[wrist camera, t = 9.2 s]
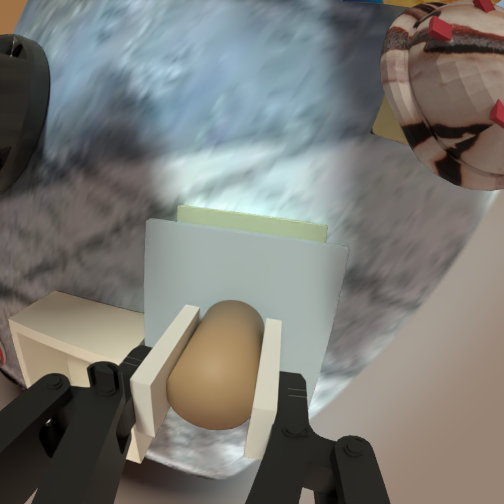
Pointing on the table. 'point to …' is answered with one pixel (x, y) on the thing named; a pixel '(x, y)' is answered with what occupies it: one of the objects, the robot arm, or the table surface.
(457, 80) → the ice cream cone
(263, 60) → the table surface
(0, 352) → the pill bottle
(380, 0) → the beverage box
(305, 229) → the mat
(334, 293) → the lid
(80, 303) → the cream open box
